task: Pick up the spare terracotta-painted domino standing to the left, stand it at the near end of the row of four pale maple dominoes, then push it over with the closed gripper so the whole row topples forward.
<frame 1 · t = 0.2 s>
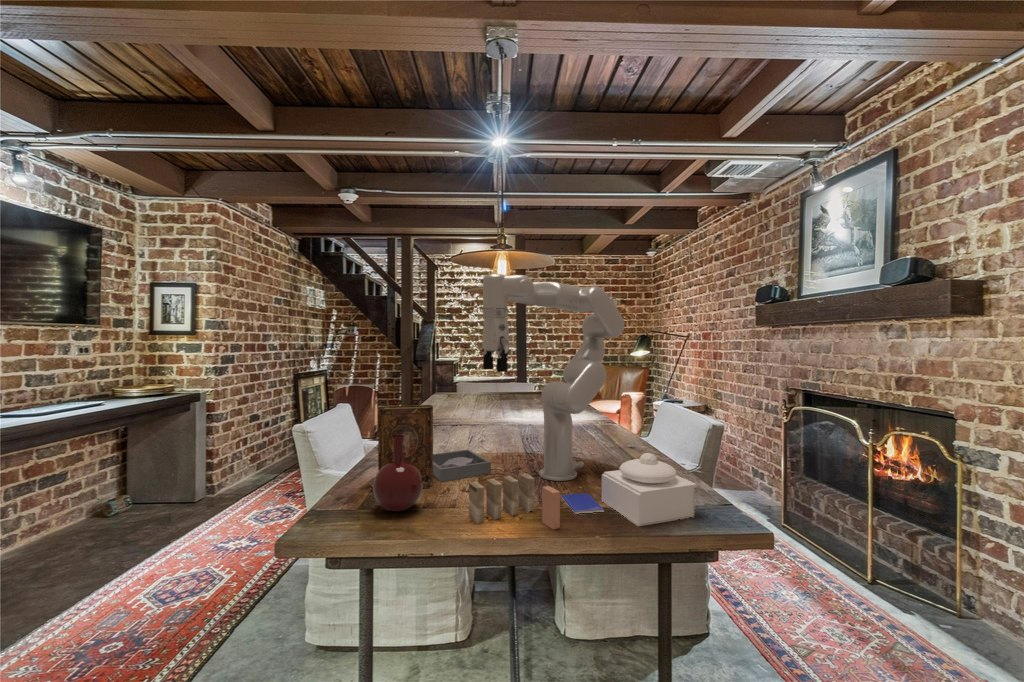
hand: (494, 370, 143), 36 cm above the table, tool pointing down, fingers open, 9 cm apart
domino 3: (510, 512, 124), on the table
domino 4: (493, 515, 122), on the table
domino 1: (550, 524, 116), on the table
book: (406, 487, 144), on the table
stone block: (456, 471, 161), on the table
round-bottom flask: (398, 510, 126), on the table
domino 2: (526, 508, 127), on the table
domino 5: (476, 519, 119), on the table
butter dish: (647, 510, 126), on the table
hard drive: (581, 507, 129), on the table
slate frame: (455, 470, 162), on the table
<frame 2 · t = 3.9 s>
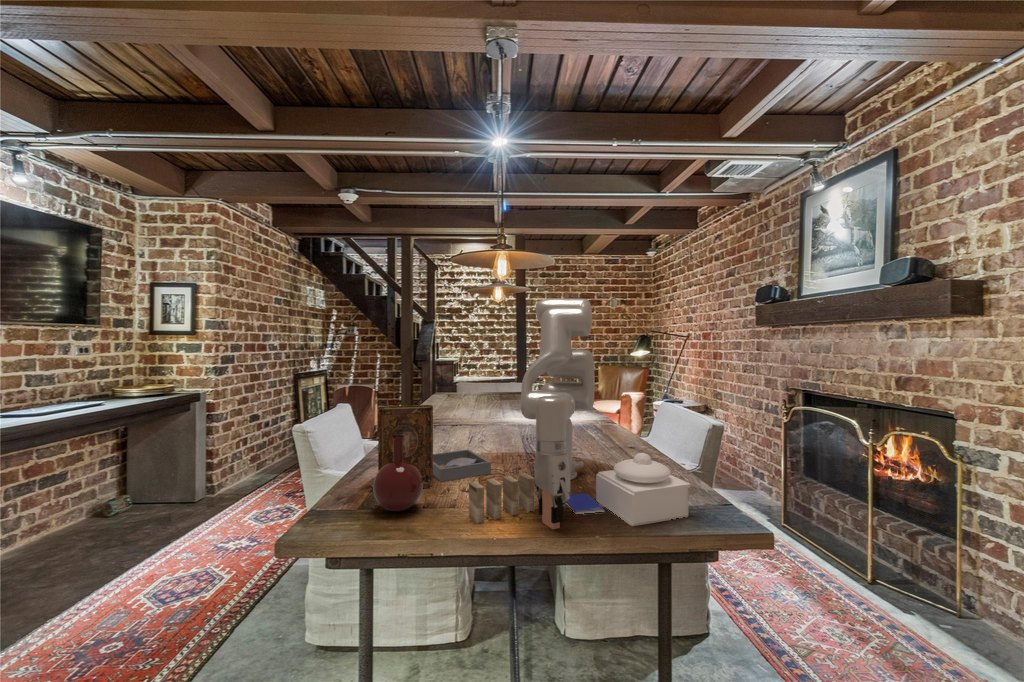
hand: (550, 517, 116), 2 cm above the table, tool pointing down, fingers closed on domino 1, 4 cm apart
domino 1: (550, 525, 116), on the table, touching gripper
stone block: (459, 472, 161), on the table
butter dish: (641, 510, 126), on the table
everything else where it was.
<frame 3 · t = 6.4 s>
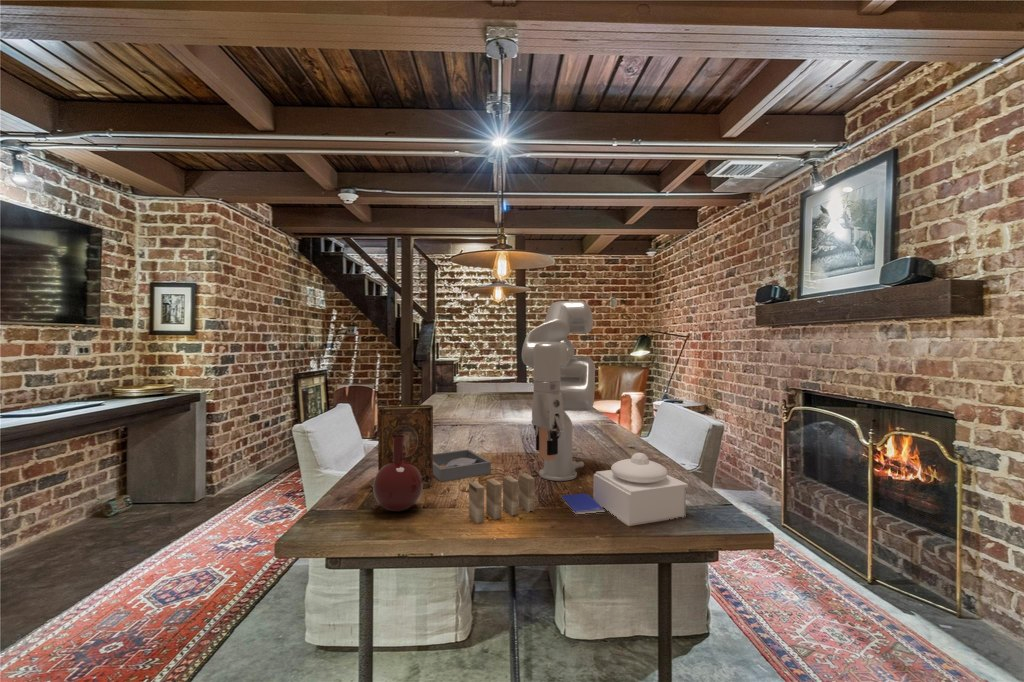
hand: (546, 451, 129), 15 cm above the table, tool pointing down, fingers closed on domino 1, 4 cm apart
domino 1: (546, 458, 129), point 13 cm above the table, touching gripper
when the fingers open (3 cm above the table, at t = 8.9 s): domino 1 stays where it is, on the table.
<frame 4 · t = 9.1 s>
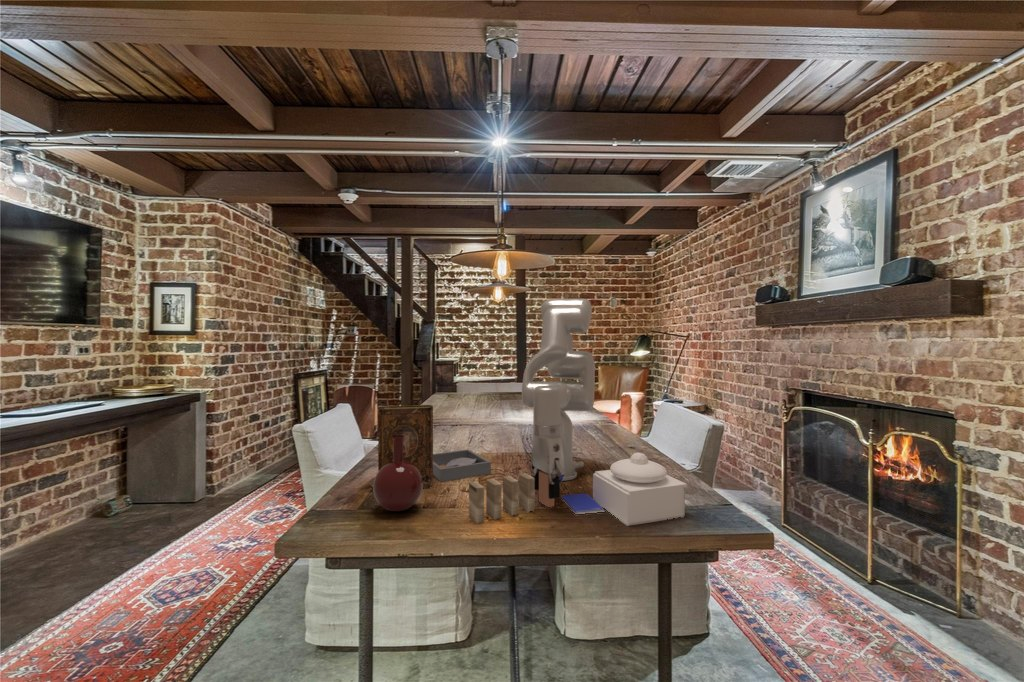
hand: (546, 492, 130), 3 cm above the table, tool pointing down, fingers open, 7 cm apart
domino 1: (546, 504, 130), on the table
everything else where it was.
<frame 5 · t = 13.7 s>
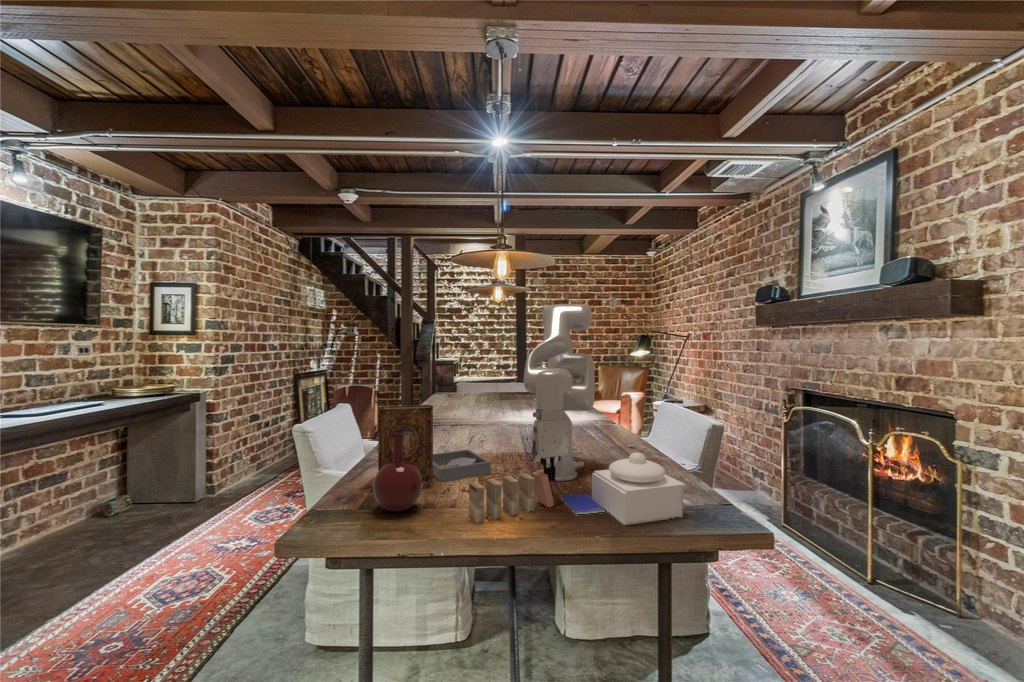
hand: (549, 480, 130), 7 cm above the table, tool pointing down, fingers closed
domino 1: (546, 503, 130), on the table, tilted 14°
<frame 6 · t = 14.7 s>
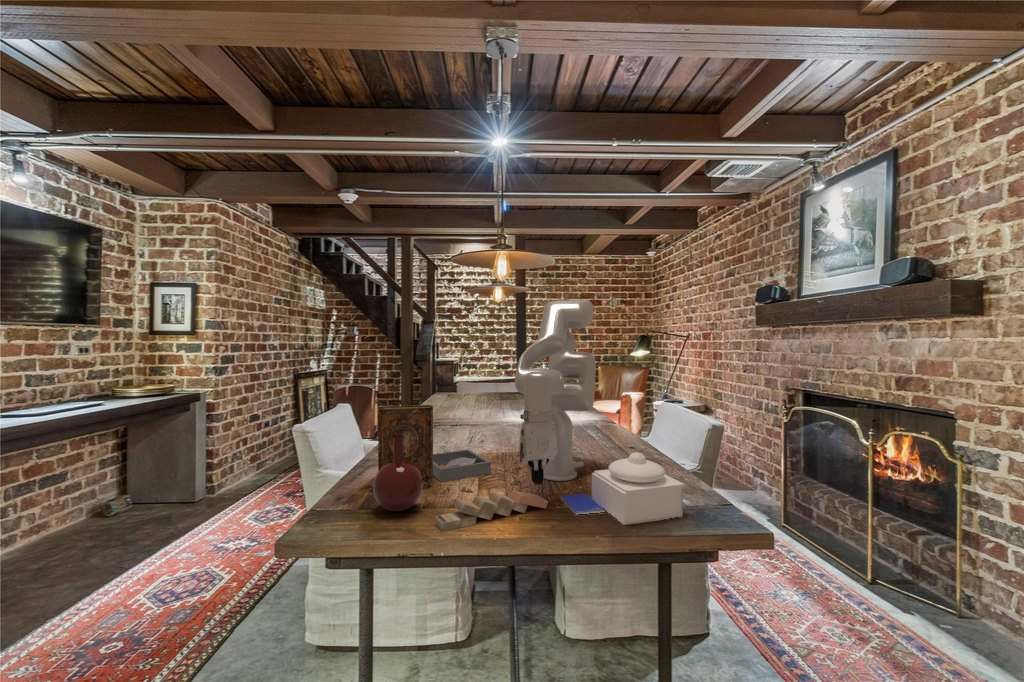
hand: (537, 482, 128), 7 cm above the table, tool pointing down, fingers closed
domino 3: (506, 509, 124), point 1 cm above the table, tilted 67°, touching domino 2, domino 4
domino 4: (488, 513, 121), point 1 cm above the table, tilted 66°, touching domino 3, domino 5
domino 1: (542, 501, 129), point 1 cm above the table, tilted 70°
domino 2: (521, 506, 126), point 1 cm above the table, tilted 66°, touching domino 3
domino 5: (472, 516, 119), point 1 cm above the table, tilted 90°, touching domino 4
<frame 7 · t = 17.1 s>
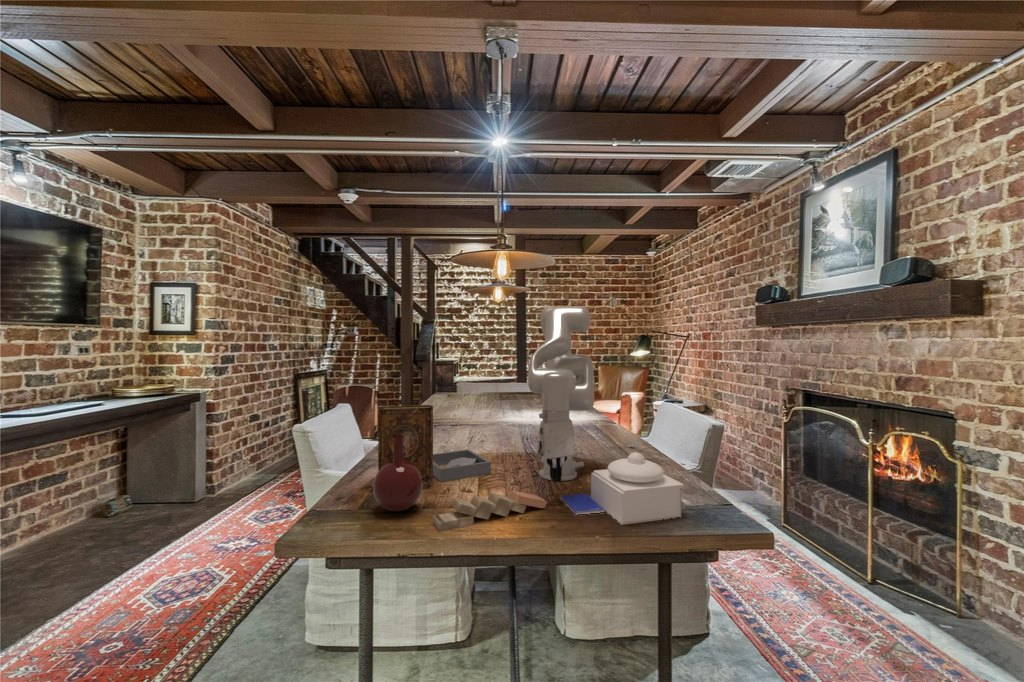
hand: (555, 479, 131), 6 cm above the table, tool pointing down, fingers closed
domino 3: (504, 509, 123), point 1 cm above the table, tilted 66°, touching domino 2
domino 4: (486, 512, 121), point 1 cm above the table, tilted 68°, touching domino 5
domino 1: (541, 502, 129), point 1 cm above the table, tilted 71°, touching domino 2
domino 2: (520, 506, 126), point 1 cm above the table, tilted 66°, touching domino 1, domino 3
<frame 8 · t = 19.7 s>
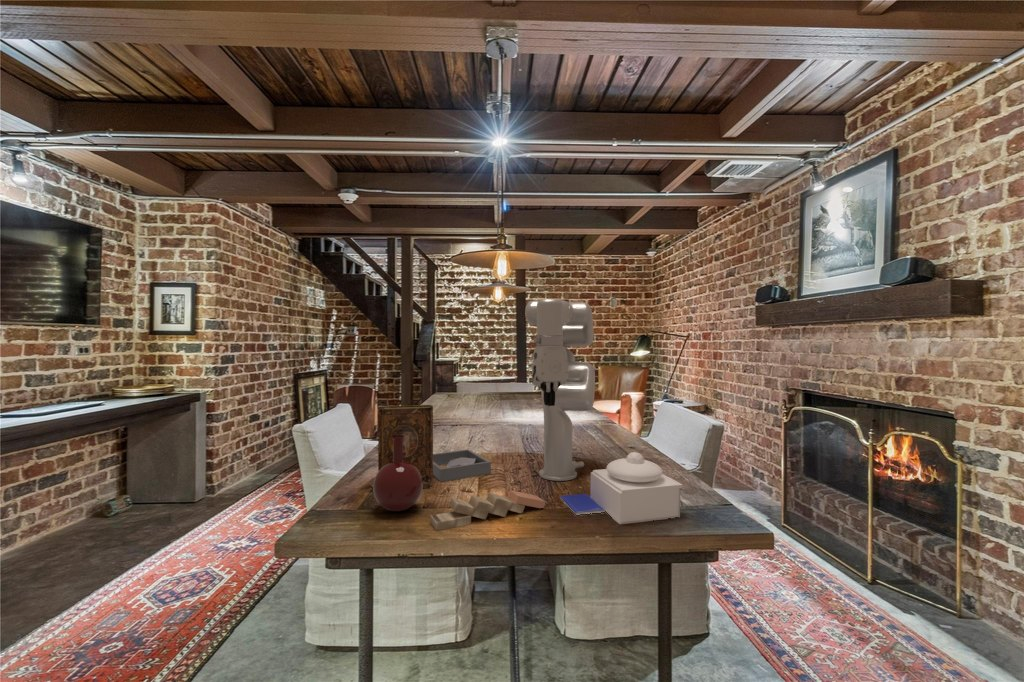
hand: (549, 405, 134), 27 cm above the table, tool pointing down, fingers closed
domino 3: (502, 510, 123), point 1 cm above the table, tilted 67°, touching domino 2, domino 4
domino 4: (483, 512, 121), point 1 cm above the table, tilted 68°, touching domino 3, domino 5
at the end: domino 5 tilted 89°; domino 1 tilted 71°; domino 1 inside the target area (0.5 cm from its centre), point 0.9 cm above the table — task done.
